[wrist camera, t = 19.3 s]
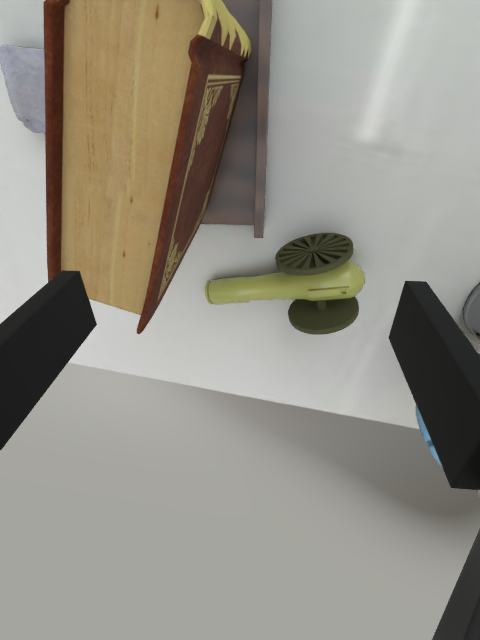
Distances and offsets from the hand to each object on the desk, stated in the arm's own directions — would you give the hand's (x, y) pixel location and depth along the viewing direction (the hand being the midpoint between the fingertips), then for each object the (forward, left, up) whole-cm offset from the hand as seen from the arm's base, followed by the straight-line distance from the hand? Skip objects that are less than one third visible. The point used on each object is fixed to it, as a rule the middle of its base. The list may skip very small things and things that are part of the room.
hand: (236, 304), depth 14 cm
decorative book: (+3, +9, -39) cm, 40 cm away
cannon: (-19, -3, -40) cm, 45 cm away
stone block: (+6, +27, -40) cm, 48 cm away
